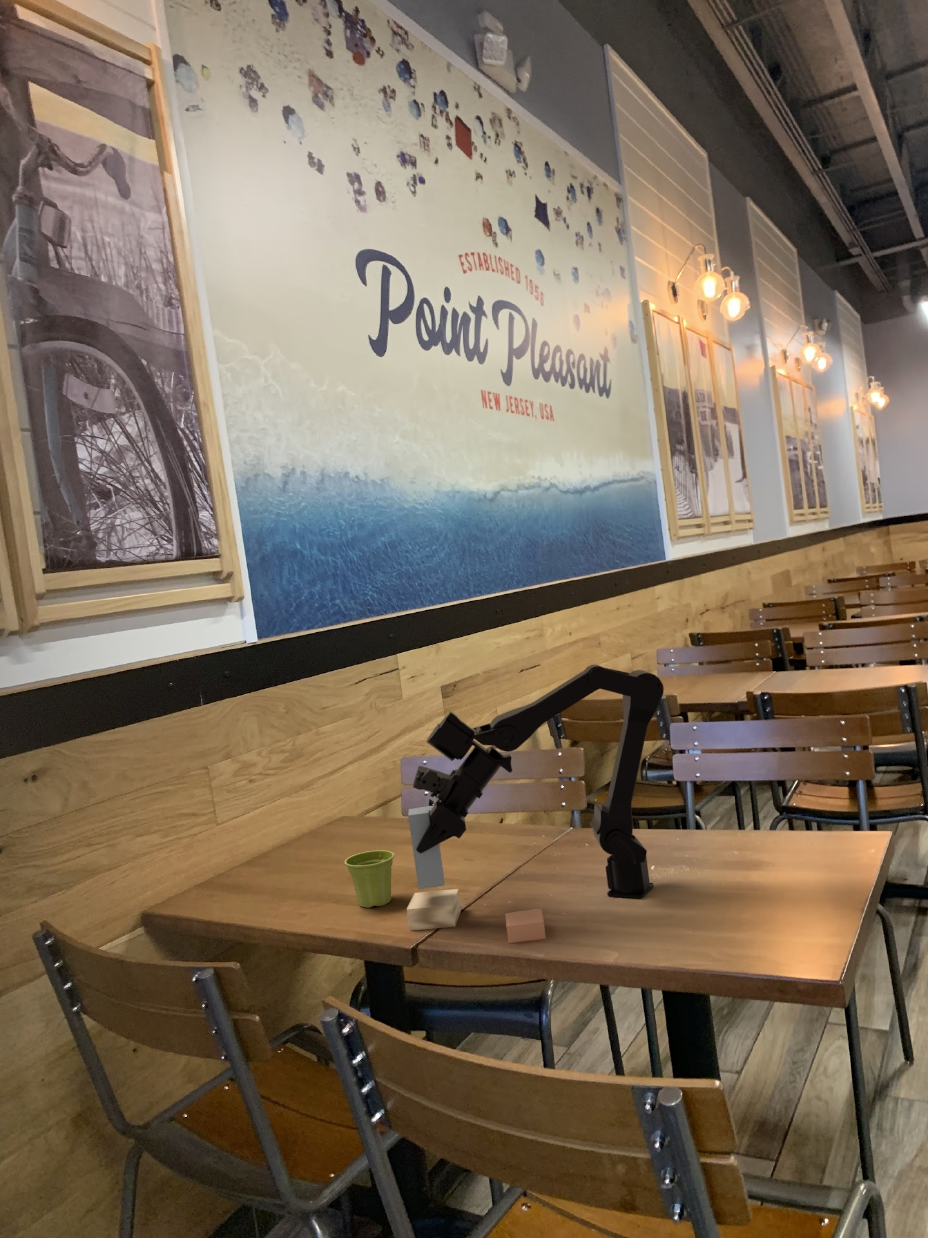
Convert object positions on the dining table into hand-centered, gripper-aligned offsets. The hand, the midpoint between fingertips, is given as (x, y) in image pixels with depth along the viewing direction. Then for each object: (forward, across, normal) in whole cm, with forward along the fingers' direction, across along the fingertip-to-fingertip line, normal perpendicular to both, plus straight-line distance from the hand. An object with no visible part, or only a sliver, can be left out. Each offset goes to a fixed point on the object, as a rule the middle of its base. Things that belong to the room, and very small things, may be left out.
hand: (418, 847), depth 162 cm
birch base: (+9, 0, +10) cm, 13 cm away
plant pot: (+17, -14, +2) cm, 21 cm away
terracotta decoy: (-2, +12, +21) cm, 24 cm away
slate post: (+4, 0, +6) cm, 7 cm away
